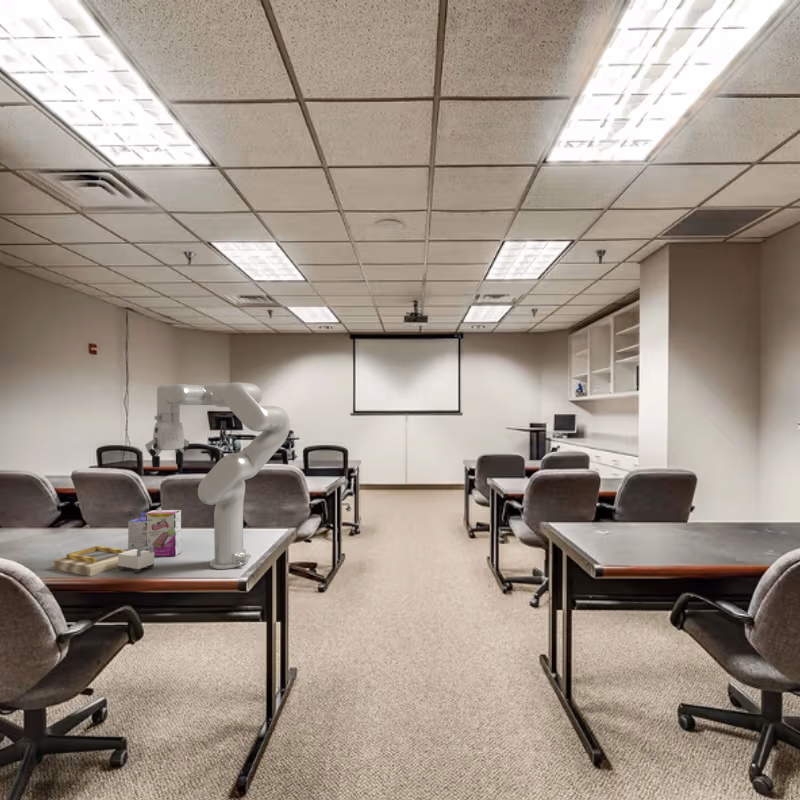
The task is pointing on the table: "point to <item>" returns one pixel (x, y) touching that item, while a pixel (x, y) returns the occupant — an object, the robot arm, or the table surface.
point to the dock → (89, 561)
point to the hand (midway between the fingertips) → (168, 465)
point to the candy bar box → (164, 532)
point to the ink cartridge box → (137, 533)
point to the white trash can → (136, 559)
